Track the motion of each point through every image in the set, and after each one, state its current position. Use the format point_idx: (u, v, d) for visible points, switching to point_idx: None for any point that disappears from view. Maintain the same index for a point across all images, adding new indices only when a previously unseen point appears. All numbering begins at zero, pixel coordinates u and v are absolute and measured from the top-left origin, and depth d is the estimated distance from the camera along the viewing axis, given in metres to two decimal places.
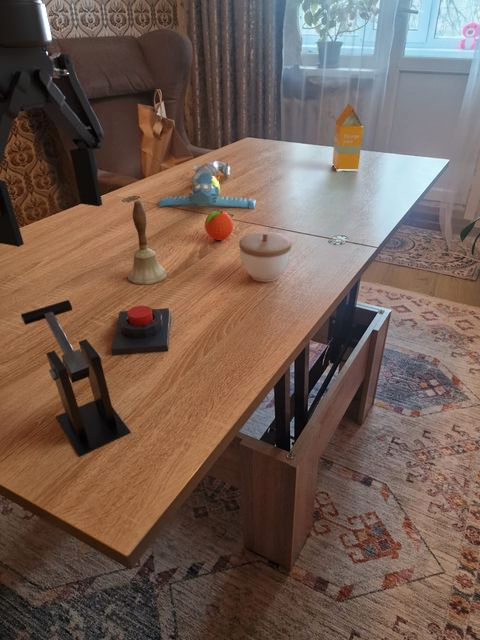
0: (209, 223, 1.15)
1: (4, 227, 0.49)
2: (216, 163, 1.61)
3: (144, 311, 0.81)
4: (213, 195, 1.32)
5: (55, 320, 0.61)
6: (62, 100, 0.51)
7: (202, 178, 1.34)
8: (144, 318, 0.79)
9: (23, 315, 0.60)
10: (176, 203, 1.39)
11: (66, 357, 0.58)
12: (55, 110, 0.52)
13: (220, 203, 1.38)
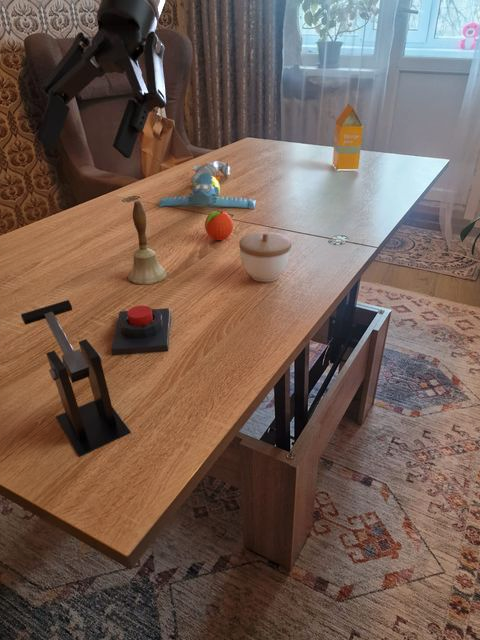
0: (209, 223, 1.15)
1: (129, 139, 0.62)
2: (216, 163, 1.61)
3: (144, 311, 0.81)
4: (213, 195, 1.31)
5: (55, 320, 0.61)
6: None
7: (202, 178, 1.34)
8: (144, 318, 0.79)
9: (23, 315, 0.60)
10: (176, 203, 1.39)
11: (66, 357, 0.58)
12: (91, 73, 0.67)
13: (220, 203, 1.38)
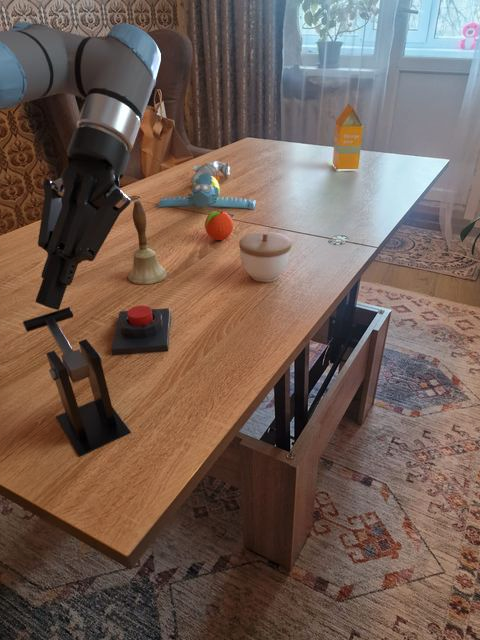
0: (209, 223, 1.15)
1: (57, 293, 0.62)
2: (216, 163, 1.61)
3: (144, 311, 0.81)
4: (213, 196, 1.31)
5: (56, 325, 0.62)
6: None
7: (202, 179, 1.34)
8: (144, 318, 0.79)
9: (25, 322, 0.61)
10: (176, 204, 1.39)
11: (66, 356, 0.58)
12: None
13: (220, 204, 1.38)
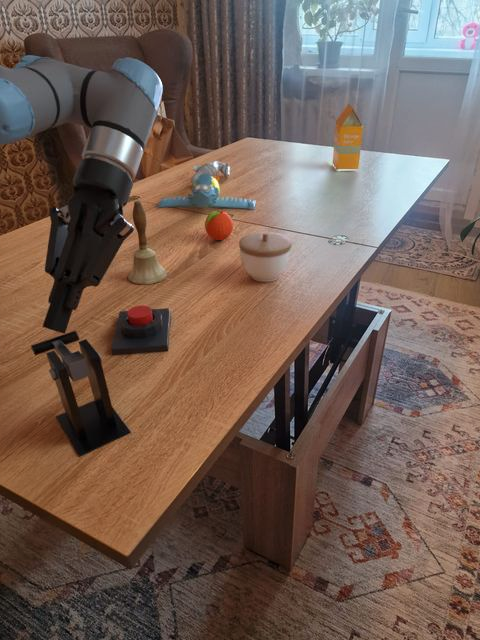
0: (209, 223, 1.15)
1: (64, 317, 0.65)
2: (216, 163, 1.61)
3: (144, 311, 0.81)
4: (213, 196, 1.31)
5: (61, 343, 0.64)
6: None
7: (202, 179, 1.33)
8: (144, 318, 0.79)
9: (32, 345, 0.64)
10: (176, 204, 1.39)
11: (65, 357, 0.59)
12: (82, 240, 0.67)
13: (220, 204, 1.38)
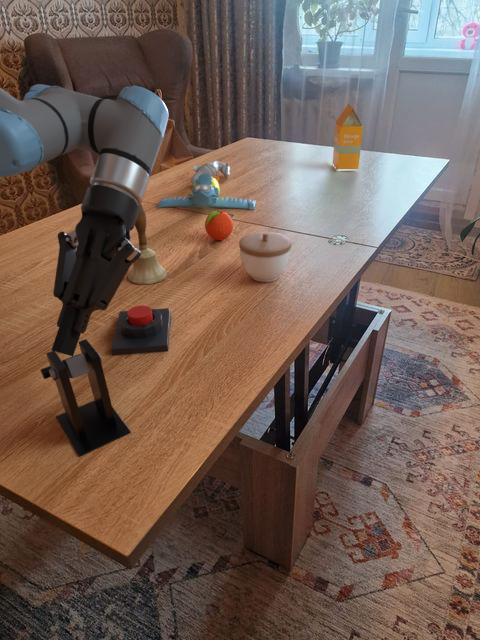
0: (209, 223, 1.15)
1: (72, 341, 0.66)
2: (216, 163, 1.61)
3: (144, 311, 0.81)
4: (213, 196, 1.31)
5: None
6: None
7: (202, 179, 1.33)
8: (144, 318, 0.79)
9: (41, 369, 0.65)
10: (175, 204, 1.39)
11: (65, 359, 0.59)
12: (90, 264, 0.68)
13: (220, 204, 1.38)
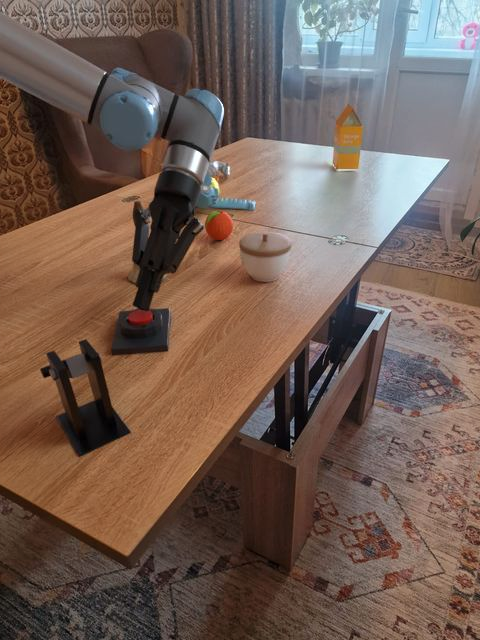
0: (209, 223, 1.15)
1: (148, 298, 0.81)
2: (216, 163, 1.61)
3: (144, 315, 0.81)
4: (213, 197, 1.30)
5: None
6: None
7: None
8: (144, 322, 0.80)
9: (41, 368, 0.65)
10: None
11: None
12: (161, 236, 0.83)
13: (220, 205, 1.37)
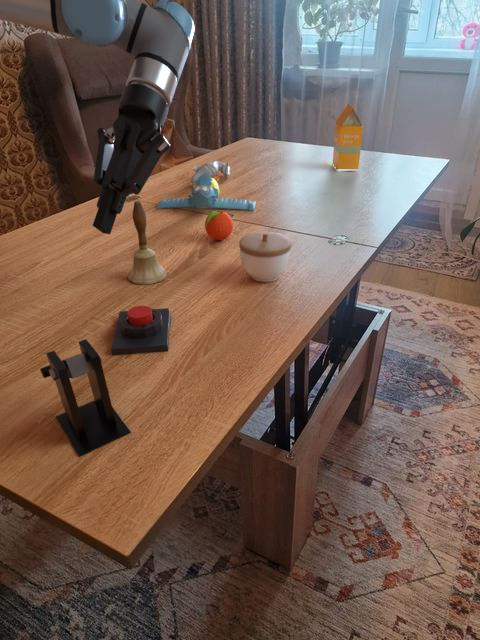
0: (209, 223, 1.15)
1: (110, 220, 0.76)
2: (216, 163, 1.61)
3: (144, 311, 0.81)
4: (212, 197, 1.30)
5: None
6: None
7: (201, 180, 1.33)
8: (144, 318, 0.79)
9: (41, 368, 0.65)
10: (175, 205, 1.38)
11: None
12: (125, 156, 0.78)
13: (219, 205, 1.37)
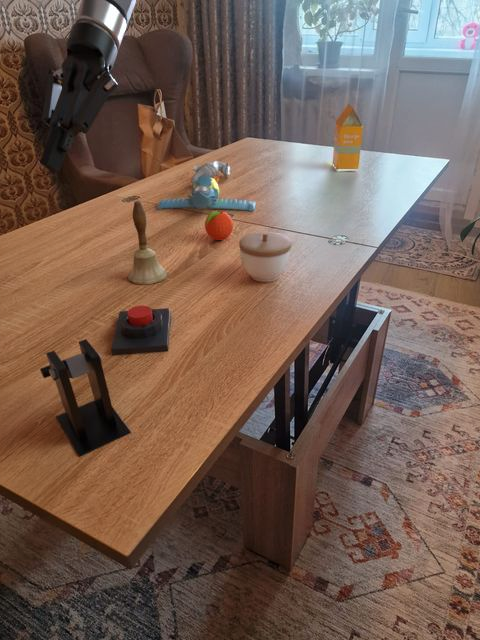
0: (209, 223, 1.15)
1: (58, 158, 0.77)
2: (216, 163, 1.61)
3: (144, 311, 0.81)
4: (212, 197, 1.30)
5: None
6: None
7: (201, 180, 1.32)
8: (144, 318, 0.79)
9: (41, 368, 0.65)
10: (175, 205, 1.37)
11: None
12: None
13: (219, 205, 1.37)
